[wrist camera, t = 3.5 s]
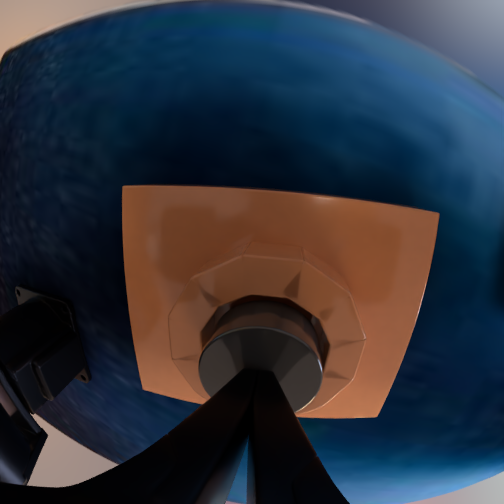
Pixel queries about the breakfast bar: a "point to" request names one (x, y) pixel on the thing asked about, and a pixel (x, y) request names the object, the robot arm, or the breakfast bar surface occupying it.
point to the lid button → (264, 350)
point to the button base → (275, 281)
